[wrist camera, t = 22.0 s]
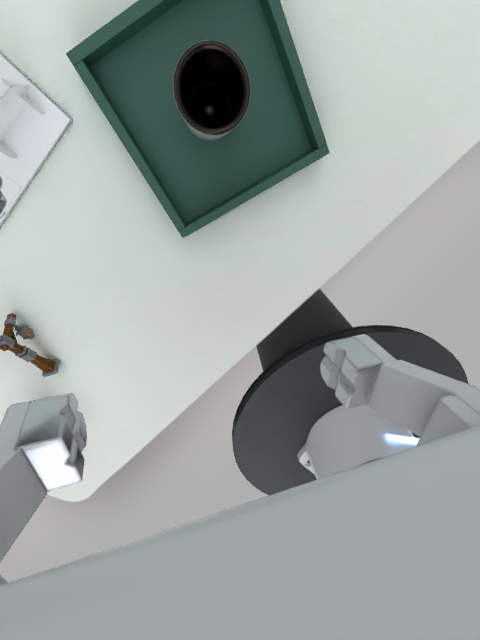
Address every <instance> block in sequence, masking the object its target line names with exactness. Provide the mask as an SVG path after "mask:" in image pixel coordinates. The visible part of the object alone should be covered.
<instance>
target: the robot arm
mask: <svg viewBox="0 0 480 640" xmlns="http://www.w3.org/2000/svg"><path fill="white" fill-rule="evenodd" d="M323 352H324V353H325V355H326V356H325V357H324V358H323V360H322V361H321V365H320V371H321V376H322V378H323V380H324V382H325V383H326V385H327V386H328V387H330V388H332V389H334V390H335V396H336V398H337V399H338V400H339V401H340V403H341V404H342V405H341V406H339V407H337V408H334V409H333V410H331V411H329V412H328V413H326V414H325V415H323V416H322V417H321V418H320V419H319V420H318V421H317V422H316V423H315V424H314V426H313V427H312V429H311V430H310V432H309V435H308V438H307V441H306V444H305V445H304V446H303V447H302V448H301V449H300V451H299V452H298V454H297V458H298V460H299V462H300V463H301V464H302V465H303V466H305V467H306V468H307V469H308V470H310V471H311V472H312V473H313V474H315V476H316V478H317V480H314V481H311V482H308V483H305V484H302V485H299V486H296V487H293V488H290V489H287V490H284V491H281V492H278V493H275V494H272V495H269V496H266V497H263V498H260V499H257V500H254V501H251V502H248V503H245V504H243V505H240V506H236V507H234V508H230V509H228V510H225V511H222V512H218V513H216V514H213V515H210V516H207V517H204V518H201V519H198V520H195V521H192V522H189V523H186V524H183V525H180V526H177V527H174V528H171V529H168V530H165V531H162V532H159V533H156V534H153V535H150V536H147V537H144V538H141V539H138V540H135V541H132V542H129V543H126V544H123V545H120V546H117V547H114V548H111V549H108V550H105V551H102V552H99V553H96V554H93V555H90V556H87V557H84V558H82V559H78V560H75V561H73V562H70V563H66V564H63V565H60V566H57V567H55V568H51V569H49V570H45V571H43V572H39V573H36V574H33V575H30V576H27V577H24V578H21V579H18V580H16V581H12V582H9V583H8V582H7V581H6V580H5V579H4V578H3V577H2V576H1V575H0V640H480V390H479V389H478V388H477V387H475V386H472V385H469V384H467V383H464V382H461V381H459V380H456V379H453V378H450V377H447V376H445V375H442V374H439V373H436V372H434V371H431V370H428V369H425V368H423V367H420V366H417V365H414V364H411V363H409V362H406V361H403V360H396V359H395V358H394V357H393V356H391V355H390V354H389V353H388V352H387V351H386V350H384V349H383V348H382V347H381V346H380V345H379V344H377V343H376V342H375V341H374V340H373V339H372V338H370V337H369V336H368V335H365V334H362V335H357V336H353V337H349V338H344V339H340V340H335V341H330V342H327V343H326V344H325V346H324V350H323ZM77 407H78V401H77V399H76V397H75V395H74V394H72V393H71V394H66V395H60V396H55V397H49V398H43V399H38V400H33V401H29V402H23V403H18V404H12V405H11V406H10V407H9V408H8V409H7V411H6V413H5V416H4V418H3V421H2V423H1V426H0V562H1V561H2V559H3V558H4V556H5V555H6V553H7V552H8V551H9V549H10V548H11V546H12V544H13V543H14V542H15V540H16V539H17V537H18V536H19V534H20V533H21V532H22V530H23V529H24V527H25V526H26V524H27V523H28V521H29V520H30V518H31V517H32V515H33V514H34V512H35V511H36V510H37V508H38V507H39V505H40V504H41V502H42V501H43V499H44V498H45V496H46V495H47V492H48V491H52V490H55V489H58V488H62V487H65V486H68V485H72V484H75V483H78V482H82V476H83V468H84V457H83V455H82V453H81V451H82V450H83V449H84V448H85V446H86V439H87V433H86V424H85V420H84V417H83V414H82V413H80V412H78V411H77ZM412 432H413V433H414V434H416V435H418V436H419V437H420V438H415V437H414V436H413V434H412Z"/></svg>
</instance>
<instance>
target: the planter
mask: <svg viewBox="0 0 480 640" xmlns="http://www.w3.org/2000/svg"><path fill="white" fill-rule="evenodd" d="M173 92H174V98H175V102H176V105H177V107H178V110H179V112H180V114H181V115H182V117H183V119H184V121H185V123H186V124H187V126H188V128H189V129H190V130H191V131H192V133H193V134H195V135H196V136H197V137H199V138H201V139H204V140H209V141H212V140H217V139H220V138H222V137H223V136H225V135H226V134H227V133H229V132H230V131H231V130H233V129H234V128H235V127H236V126H237V125H238V124H239V123H240V122H241V120H242V119H243V117H244V116H245V114H246V111H247V109H248V106H249V101H250V80H249V75H248V72H247V69H246V67H245V65H244V63H243V61H242V59H241V58H240V57H239V55H238V54H237V53H236V52H235V51H234V50H233V49H232V48H231V47H229V46H228V45H226V44H224V43H222V42H219V41H215V40H204V41H200V42H197V43H195V44H193V45H192V46H190V47H189V48H188V49H187V50H186V51H185V52H184V53H183V55H182V56H181V58H180V59H179V61H178V63H177V66H176V69H175V72H174V78H173Z"/></svg>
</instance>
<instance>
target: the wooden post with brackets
mask: <svg viewBox="0 0 480 640" xmlns="http://www.w3.org/2000/svg"><path fill="white" fill-rule="evenodd" d="M15 320H16V315H14V314H13V313H12V314H9V315H7V319H6V320H5V323H4V325H5V328H4V332H3V335H2V336H0V349H1V350H3V351H6V350H10V351H12V352H13V353H15V356H17V357H18V356H19V358H22V359H24V360H26V361H27V362H29V361H30V362H32V363H33V364H35V365H36V366H37V367H38V368H40V369H41V370H42V371H43V373H42V376H44V377H46V376H50V375H53V374H56V373H58V368H59V362H60V360H57V359H56V360H53V361H51V360H48V359H46V358H43V357H41V356H39V355H37V354H36V353H37V352H34V351H32V350H31V349H30V348H27V346H21V345H19V344H18V343H17V340H16V337H15V334H14V332H13V327H15V330H16V331H17V333H16V336H17V335H20V336H21V337H23V338H24V339H27V338H28V339H32V338H33V334H32V333H33V330H29V329H27V328H26V326H27V325H25V326H22V327H20V325H18V326H17V325H16V321H15Z"/></svg>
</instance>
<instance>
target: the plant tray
mask: <svg viewBox="0 0 480 640" xmlns="http://www.w3.org/2000/svg"><path fill="white" fill-rule="evenodd" d="M204 40H215V41H219V42H222V43H224V44H226V45H228V46H229V47H231V48H232V49H233V50H234V51H235V52H236V53H237V54H238V55H239V57H240V58H241V59H242V61H243V63H244V65H245V67H246V69H247V72H248V75H249V80H250V101H249V106H248V109H247V111H246V114H245V116H244V117H243V119H242V120H241V122H240V123H239V124H238V125H237V126H236V127H235V128H234V129H233V130H231V131H230V132H229V133H227V134H226V135H225V136H223V137H222V138H220V139H217V140H212V141H209V140H204V139H201V138H199V137H197V136H196V135H195V134H193V133H192V131H191V130H190V129H189V128H188V126H187V124H186V123H185V121H184V119H183V117H182V115H181V114H180V112H179V110H178V107H177V105H176V102H175V98H174V92H173V78H174V72H175V69H176V66H177V63H178V61H179V59H180V58H181V56H182V55H183V53H184V52H185V51H186V50H187V49H188V48H189V47H190V46H192V45H193V44H195V43H197V42H200V41H204ZM66 55H67V56H68V58H69V59H70V61H71V62H72V64H73V65H74V67H75V69H76V70H77V72H78V73H79V75H80V77H81V78H82V80H83V81H84V83H85V85H86V86H87V88H88V89H89V91H90V92H91V94H92V96H93V97H94V99H95V100H96V102H97V103H98V105H99V107H100V108H101V110H102V111H103V113H104V114H105V116H106V118H107V119H108V121H109V122H110V124H111V126H112V127H113V129H114V130H115V132H116V133H117V135H118V137H119V138H120V140H121V141H122V143H123V144H124V146H125V148H126V149H127V151H128V152H129V154H130V155H131V157H132V159H133V160H134V162H135V163H136V165H137V167H138V168H139V170H140V171H141V173H142V174H143V176H144V178H145V179H146V181H147V182H148V184H149V185H150V187H151V189H152V190H153V192H154V193H155V195H156V196H157V198H158V200H159V201H160V203H161V204H162V206H163V208H164V209H165V211H166V212H167V214H168V215H169V217H170V219H171V220H172V222H173V223H174V225H175V226H176V228H177V230H178V231H179V233H180V234H181V236H182V237H183V238H184V237H186V236H188V235H189V234H191V233H193V232H194V231H196V230H198V229H200V228H201V227H203V226H205V225H206V224H208V223H210V222H212V221H213V220H215V219H217V218H218V217H220V216H222V215H224V214H225V213H227V212H229V211H231V210H232V209H234V208H236V207H237V206H239V205H241V204H243V203H244V202H246V201H248V200H249V199H251V198H253V197H255V196H256V195H258V194H260V193H261V192H263V191H265V190H267V189H268V188H270V187H272V186H273V185H275V184H277V183H279V182H280V181H282V180H284V179H285V178H287V177H289V176H291V175H292V174H294V173H296V172H297V171H299V170H301V169H303V168H304V167H306V166H308V165H309V164H311V163H313V162H315V161H316V160H318V159H320V158H322V157H323V156H325V155H327V154H328V153H329V150H328V147H327V144H326V140H325V137H324V134H323V131H322V128H321V125H320V122H319V119H318V116H317V113H316V110H315V107H314V104H313V101H312V98H311V95H310V92H309V89H308V85H307V82H306V79H305V76H304V73H303V70H302V67H301V64H300V61H299V58H298V55H297V52H296V49H295V46H294V43H293V40H292V37H291V34H290V31H289V28H288V25H287V21H286V18H285V15H284V12H283V9H282V6H281V3H280V0H139V1H137V2H136V3H135V4H133V5H132V6H130V7H129V8H128V9H126V10H125V11H124V12H122V13H121V14H120V15H118V16H117V17H115V18H114V19H113V20H111V21H110V22H109V23H107V24H106V25H104V26H103V27H102V28H100V29H99V30H98V31H96V32H95V33H94V34H92V35H91V36H89V37H88V38H87V39H85V40H84V41H83V42H81V43H80V44H78V45H77V46H76V47H74V48H73V49H72V50H70V51H69V52H68V53H66Z"/></svg>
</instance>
